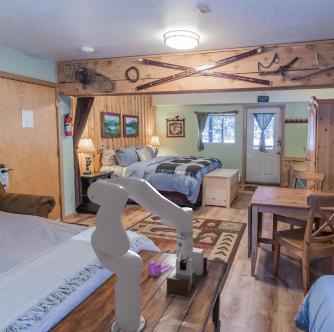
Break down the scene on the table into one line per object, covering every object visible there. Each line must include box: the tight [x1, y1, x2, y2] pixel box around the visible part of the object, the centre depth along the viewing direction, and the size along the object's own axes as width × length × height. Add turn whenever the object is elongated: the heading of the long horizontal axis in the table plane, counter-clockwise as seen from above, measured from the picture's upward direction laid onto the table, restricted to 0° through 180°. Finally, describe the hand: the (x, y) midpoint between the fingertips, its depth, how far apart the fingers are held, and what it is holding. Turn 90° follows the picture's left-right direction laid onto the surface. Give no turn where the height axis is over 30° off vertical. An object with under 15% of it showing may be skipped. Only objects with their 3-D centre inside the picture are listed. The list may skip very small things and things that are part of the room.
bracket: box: [148, 260, 172, 277], centre depth 151 cm, size 13×6×7 cm, turn 149°
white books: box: [189, 247, 205, 275], centre depth 148 cm, size 4×8×13 cm, turn 76°
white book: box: [175, 257, 193, 285], centre depth 134 cm, size 2×8×13 cm, turn 76°
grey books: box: [171, 270, 196, 291], centre depth 134 cm, size 10×9×7 cm
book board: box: [166, 255, 208, 298], centre depth 140 cm, size 26×11×9 cm, turn 166°
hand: (184, 268), depth 134 cm, fingers closed on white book, 2 cm apart
